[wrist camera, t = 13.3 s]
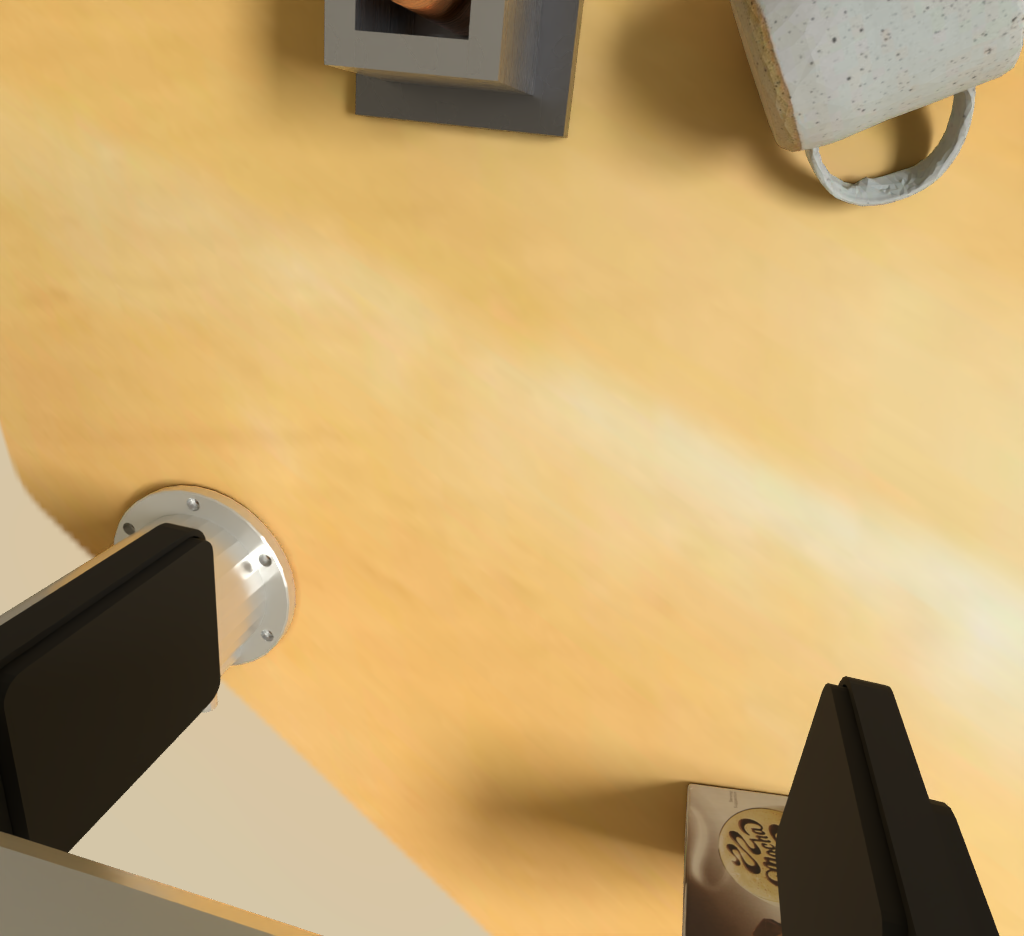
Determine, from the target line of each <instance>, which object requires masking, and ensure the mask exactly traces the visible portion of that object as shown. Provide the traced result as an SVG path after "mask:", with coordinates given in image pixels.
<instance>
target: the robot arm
mask: <svg viewBox="0 0 1024 936" xmlns="http://www.w3.org/2000/svg"><path fill="white" fill-rule="evenodd" d="M295 605H296V596H295V584H294V579H293V574H292V571H291V568H290V566H289V563H288V560H287V558H286V555H285V553H284V552H283V550H282V548H281V547H280V545H279V543H278V542H277V540H276V538H275V537H274V536H273V535H272V533H271V532H270V531H269V530H268V528H267V527H266V526H265V525H264V524H263V523H262V522H261V521H260V520H259V519H258V518H257V517H256V516H255V515H254V514H253V513H251V512H250V511H249V510H248V509H247V508H245V507H244V506H242V505H241V504H239V503H238V502H236V501H234V500H233V499H231V498H229V497H227V496H225V495H223V494H220V493H218V492H216V491H213V490H209V489H206V488H202V487H198V486H185V485H178V486H171V487H165V488H162V489H159V490H157V491H154V492H152V493H150V494H148V495H147V496H145V497H143V498H142V499H140V500H138V501H137V502H135V503H134V504H133V505H132V506H131V507H130V508H129V509H128V510H127V511H126V512H125V514H124V515H123V517H122V518H121V520H120V522H119V524H118V527H117V530H116V534H115V537H114V546H112V547H110V548H109V549H107V550H105V551H104V552H102V553H101V554H99V555H97V556H96V557H94V558H93V559H91V560H89V561H88V562H86V563H84V564H83V565H81V566H80V567H78V568H76V569H75V570H73V571H72V572H70V573H68V574H67V575H65V576H64V577H62V578H60V579H59V580H57V581H55V582H54V583H52V584H51V585H49V586H48V587H46V588H44V589H43V590H41V591H39V592H38V593H36V594H34V595H33V596H31V597H30V598H28V599H26V600H25V601H24V602H22V603H20V604H18V605H17V606H15V607H14V608H12V609H10V610H9V611H7V612H5V613H4V614H2V615H1V616H0V936H322V935H319V934H316V933H313V932H310V931H307V930H304V929H301V928H298V927H295V926H292V925H289V924H285V923H282V922H279V921H276V920H273V919H270V918H267V917H264V916H261V915H258V914H255V913H252V912H249V911H246V910H243V909H239V908H237V907H234V906H230V905H227V904H224V903H221V902H218V901H215V900H212V899H209V898H206V897H203V896H200V895H197V894H194V893H191V892H187V891H185V890H182V889H178V888H176V887H172V886H169V885H166V884H163V883H160V882H157V881H154V880H150V879H148V878H144V877H141V876H138V875H135V874H132V873H129V872H125V871H123V870H120V869H116V868H113V867H110V866H107V865H104V864H101V863H98V862H95V861H91V860H88V859H85V858H82V857H79V856H76V855H73V854H70V853H68V852H69V851H70V850H71V849H72V848H73V847H74V845H75V844H76V843H77V842H78V841H79V840H80V839H81V838H82V837H83V836H84V835H85V834H86V833H87V832H88V831H89V830H90V829H91V828H92V827H93V826H94V825H95V823H96V822H97V821H98V820H99V819H100V818H101V817H102V816H103V815H104V814H105V813H106V812H107V811H108V810H109V809H110V808H111V807H112V806H113V805H114V803H116V801H117V800H118V799H119V798H120V797H121V796H122V795H123V794H124V793H125V792H126V791H127V790H128V789H129V788H130V787H131V786H132V785H133V783H134V782H135V781H136V780H137V779H138V778H139V777H140V776H141V775H142V774H143V773H144V772H145V771H146V770H147V769H148V768H149V767H150V766H151V765H152V764H153V763H154V761H156V759H157V758H158V757H159V756H160V755H161V754H162V753H163V752H164V751H165V750H166V749H167V748H168V747H169V746H170V745H171V744H172V743H173V742H174V741H175V740H176V738H177V737H178V736H179V735H180V734H181V733H182V732H183V731H184V730H185V729H186V728H187V727H188V726H189V725H190V724H191V723H192V722H193V721H194V720H195V718H196V717H197V716H198V715H199V714H200V713H201V712H209V711H212V710H213V709H215V708H216V706H217V704H218V702H217V691H218V689H219V685H220V676H221V675H222V674H223V673H224V672H225V671H226V670H227V669H228V668H229V667H230V666H231V665H242V664H245V663H249V662H253V661H255V660H257V659H259V658H260V657H262V656H264V655H266V654H267V653H268V652H269V651H270V650H271V649H272V648H273V647H274V646H276V644H277V643H278V642H279V641H280V640H281V639H282V637H283V636H284V635H285V634H286V632H287V630H288V628H289V626H290V624H291V622H292V620H293V615H294V610H295ZM775 858H776V869H777V881H778V893H779V904H780V916H781V927H782V936H999V933H998V931H997V928H996V925H995V923H994V920H993V917H992V914H991V912H990V909H989V906H988V904H987V901H986V898H985V896H984V893H983V890H982V888H981V885H980V882H979V879H978V877H977V874H976V871H975V869H974V866H973V863H972V861H971V858H970V855H969V852H968V850H967V847H966V844H965V842H964V839H963V836H962V834H961V831H960V828H959V825H958V823H957V820H956V818H955V816H954V814H953V812H952V810H951V808H950V807H949V806H947V805H946V804H945V803H943V802H939V801H935V800H931V799H929V797H928V794H927V791H926V788H925V785H924V783H923V780H922V777H921V774H920V771H919V768H918V765H917V762H916V759H915V756H914V753H913V750H912V747H911V744H910V741H909V738H908V735H907V732H906V729H905V727H904V724H903V721H902V718H901V715H900V712H899V709H898V706H897V703H896V700H895V697H894V694H893V692H892V690H891V688H890V687H889V686H886V685H882V684H878V683H873V682H869V681H864V680H860V679H855V678H851V677H847V676H845V677H843V678H842V680H841V681H840V683H839V685H833V684H829V683H828V684H826V685H825V687H824V688H823V691H822V694H821V697H820V700H819V703H818V706H817V709H816V712H815V715H814V718H813V722H812V725H811V728H810V731H809V734H808V737H807V740H806V743H805V746H804V749H803V753H802V756H801V759H800V762H799V765H798V768H797V771H796V774H795V777H794V780H793V783H792V787H791V790H790V793H789V796H788V799H787V802H786V805H785V808H784V811H783V814H782V818H781V821H780V824H779V827H778V831H777V837H776V846H775Z"/></svg>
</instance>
